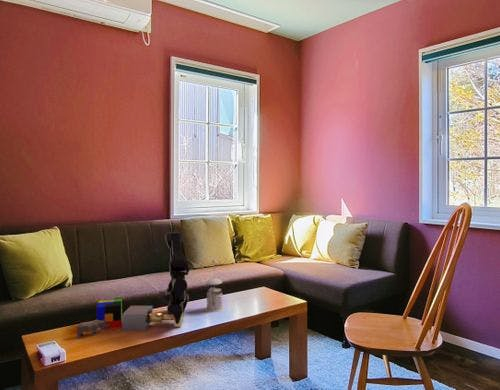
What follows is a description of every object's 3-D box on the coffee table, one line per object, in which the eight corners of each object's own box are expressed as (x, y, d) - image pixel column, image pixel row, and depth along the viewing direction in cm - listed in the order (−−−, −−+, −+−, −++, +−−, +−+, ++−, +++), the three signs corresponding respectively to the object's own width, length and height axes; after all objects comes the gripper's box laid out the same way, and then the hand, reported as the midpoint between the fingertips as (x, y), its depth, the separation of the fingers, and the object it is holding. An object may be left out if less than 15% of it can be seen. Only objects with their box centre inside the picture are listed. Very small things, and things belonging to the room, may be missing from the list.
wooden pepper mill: (145, 321, 179) (145, 308, 179) (183, 321, 179) (183, 308, 179) (142, 326, 173) (142, 313, 173) (180, 326, 173) (180, 313, 173)
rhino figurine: (111, 332, 168) (111, 318, 168) (77, 339, 161) (77, 325, 160) (109, 329, 172) (108, 315, 172) (75, 336, 164) (75, 322, 164)
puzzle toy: (96, 330, 171) (96, 307, 171) (99, 322, 181) (98, 300, 181) (121, 327, 174) (120, 305, 174) (122, 320, 183) (121, 298, 183)
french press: (225, 306, 203) (225, 258, 202) (222, 313, 192) (221, 262, 191) (207, 305, 204) (206, 257, 203) (202, 313, 193) (201, 262, 192)
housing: (131, 320, 182) (130, 305, 182) (152, 320, 182) (152, 305, 182) (122, 330, 170) (122, 314, 170) (145, 330, 170) (145, 314, 170)
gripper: (165, 281, 185) (165, 314, 185) (155, 292, 166) (155, 328, 167) (189, 281, 185) (189, 314, 185) (181, 292, 166) (181, 328, 167)
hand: (178, 321), depth 176 cm, fingers closed on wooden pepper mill, 6 cm apart
